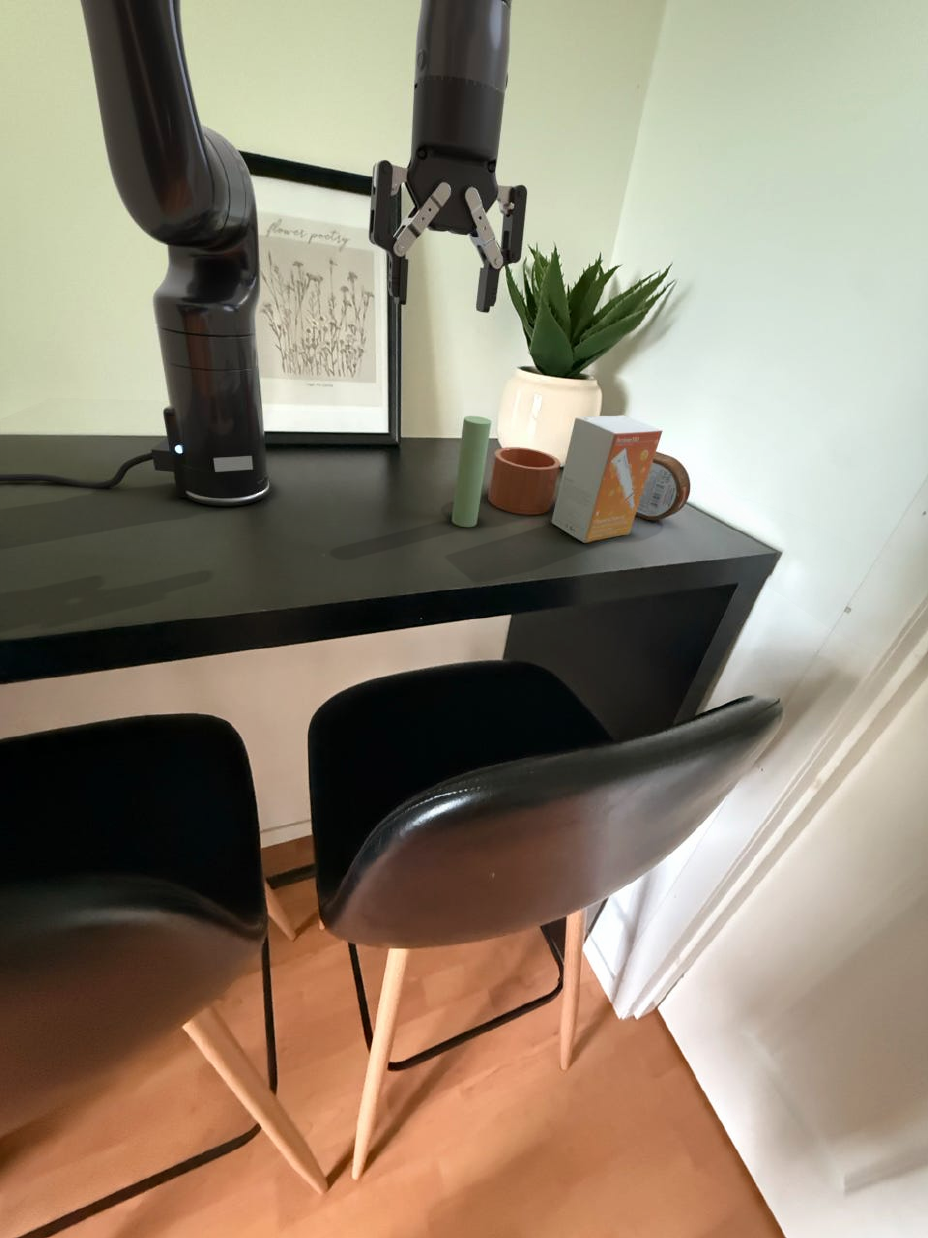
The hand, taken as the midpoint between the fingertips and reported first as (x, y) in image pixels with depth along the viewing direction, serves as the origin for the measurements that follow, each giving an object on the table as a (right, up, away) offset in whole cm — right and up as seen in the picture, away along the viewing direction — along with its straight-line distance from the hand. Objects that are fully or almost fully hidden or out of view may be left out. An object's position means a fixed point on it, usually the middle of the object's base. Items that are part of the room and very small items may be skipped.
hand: (442, 307), depth 54 cm
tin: (+24, -16, +22) cm, 36 cm away
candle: (+2, -19, +12) cm, 23 cm away
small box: (+18, -20, +15) cm, 30 cm away
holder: (+10, -15, +19) cm, 26 cm away
